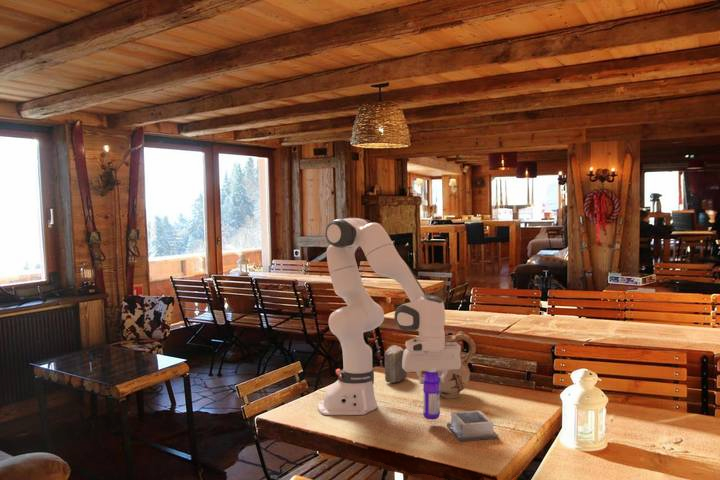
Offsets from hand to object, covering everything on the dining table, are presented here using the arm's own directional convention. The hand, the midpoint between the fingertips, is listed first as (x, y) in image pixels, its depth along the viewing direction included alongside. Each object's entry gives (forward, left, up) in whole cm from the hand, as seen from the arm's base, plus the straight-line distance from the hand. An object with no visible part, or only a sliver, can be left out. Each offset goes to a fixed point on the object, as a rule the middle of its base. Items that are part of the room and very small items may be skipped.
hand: (431, 382), depth 190 cm
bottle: (0, 0, -12) cm, 12 cm away
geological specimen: (-1, +52, -15) cm, 54 cm away
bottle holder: (+11, -8, -15) cm, 20 cm away
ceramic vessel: (+15, +30, -15) cm, 37 cm away
